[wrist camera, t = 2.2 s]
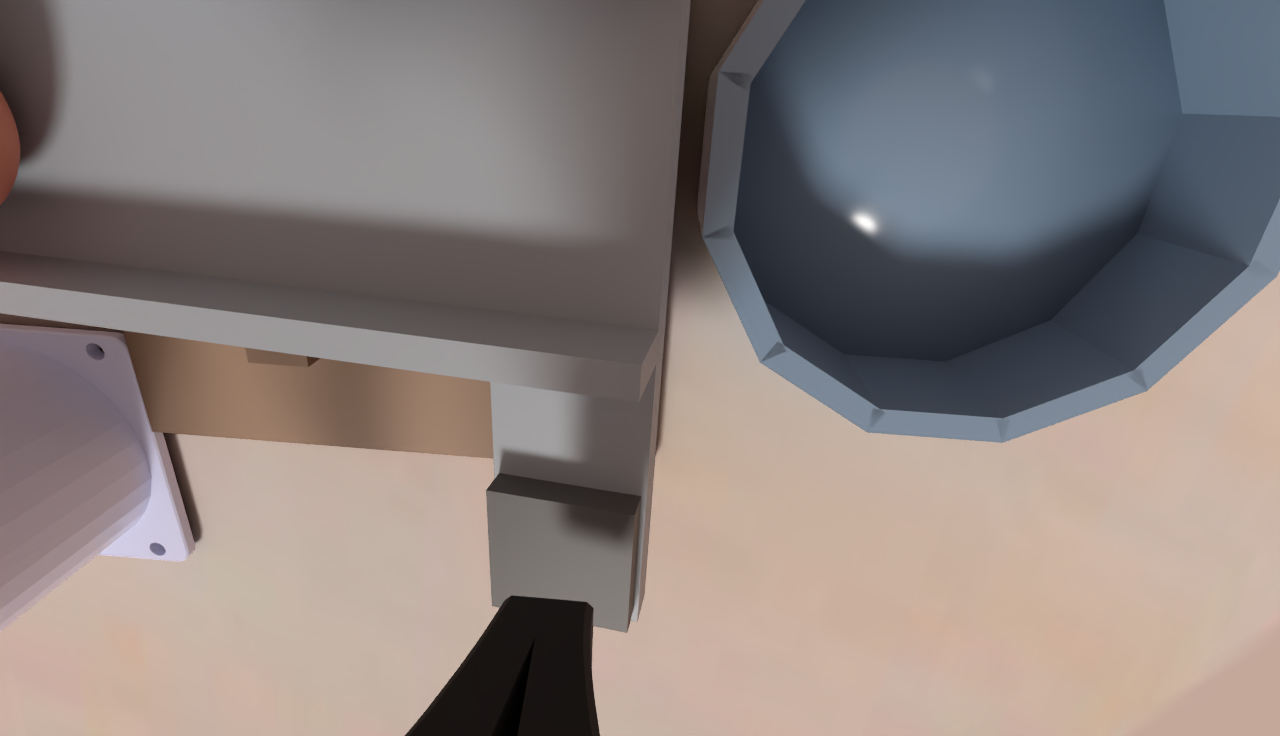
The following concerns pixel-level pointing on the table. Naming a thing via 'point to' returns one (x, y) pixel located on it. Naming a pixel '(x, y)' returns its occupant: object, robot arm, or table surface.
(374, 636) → the table surface
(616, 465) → the lever
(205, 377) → the catapult base
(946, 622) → the table surface
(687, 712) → the table surface
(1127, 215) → the bowl
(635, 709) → the table surface
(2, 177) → the ball
